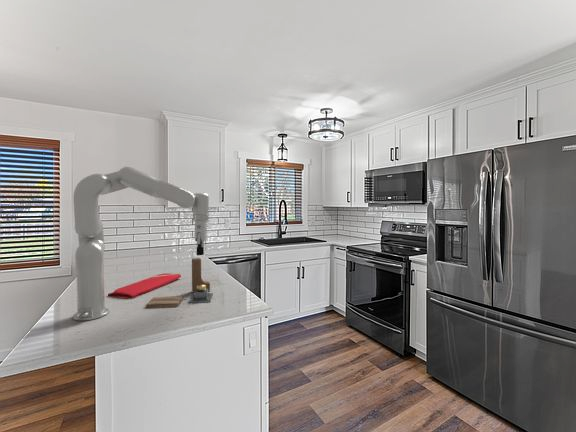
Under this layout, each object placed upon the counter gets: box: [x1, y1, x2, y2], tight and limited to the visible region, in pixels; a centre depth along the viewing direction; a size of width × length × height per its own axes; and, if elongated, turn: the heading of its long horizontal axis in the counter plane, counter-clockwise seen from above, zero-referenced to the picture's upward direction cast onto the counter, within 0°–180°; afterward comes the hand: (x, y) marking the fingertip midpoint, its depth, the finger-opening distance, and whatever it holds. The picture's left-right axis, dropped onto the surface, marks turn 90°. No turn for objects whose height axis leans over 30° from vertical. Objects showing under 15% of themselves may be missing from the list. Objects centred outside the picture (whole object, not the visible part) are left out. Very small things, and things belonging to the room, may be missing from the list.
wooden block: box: [191, 257, 211, 294], centre depth 158 cm, size 9×4×18 cm, turn 113°
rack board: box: [145, 295, 184, 309], centre depth 139 cm, size 11×14×2 cm
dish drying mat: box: [107, 273, 182, 300], centre depth 167 cm, size 16×41×4 cm, turn 165°
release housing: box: [188, 288, 214, 304], centre depth 146 cm, size 12×10×4 cm
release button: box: [197, 284, 206, 291], centre depth 145 cm, size 4×4×2 cm
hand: (200, 254), depth 145 cm, fingers closed
